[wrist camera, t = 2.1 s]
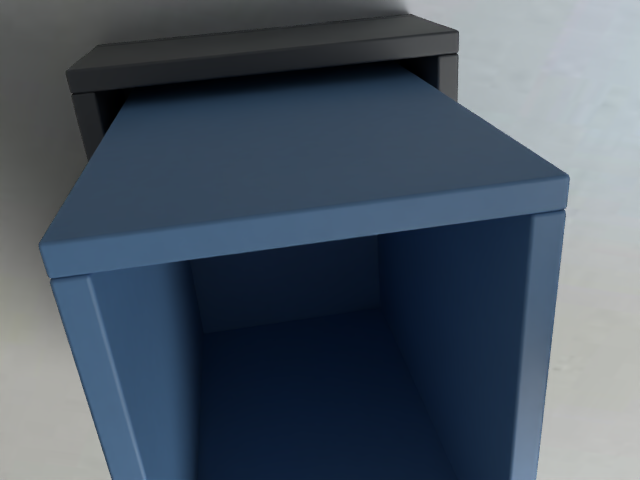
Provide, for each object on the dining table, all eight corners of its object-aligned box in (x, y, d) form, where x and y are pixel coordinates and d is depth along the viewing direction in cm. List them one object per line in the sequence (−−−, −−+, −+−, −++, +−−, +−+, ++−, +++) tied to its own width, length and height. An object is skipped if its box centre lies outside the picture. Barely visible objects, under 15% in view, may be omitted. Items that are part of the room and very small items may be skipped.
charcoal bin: (96, 44, 19) (64, 70, 15) (411, 13, 20) (460, 30, 16) (168, 358, 25) (158, 438, 21) (414, 321, 26) (451, 391, 22)
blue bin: (137, 79, 19) (35, 244, 9) (384, 53, 20) (572, 175, 9) (191, 339, 24) (167, 661, 13) (391, 309, 24) (525, 590, 14)
